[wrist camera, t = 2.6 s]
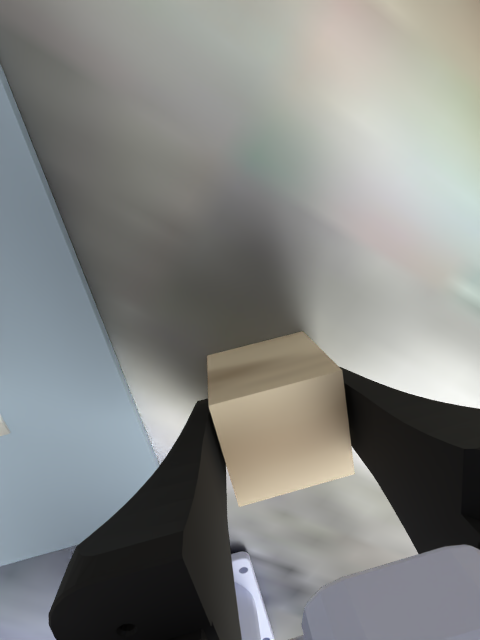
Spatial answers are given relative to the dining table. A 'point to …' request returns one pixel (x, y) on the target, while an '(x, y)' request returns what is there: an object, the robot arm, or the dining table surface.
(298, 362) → the maple block
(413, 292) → the dining table surface
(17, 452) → the board
